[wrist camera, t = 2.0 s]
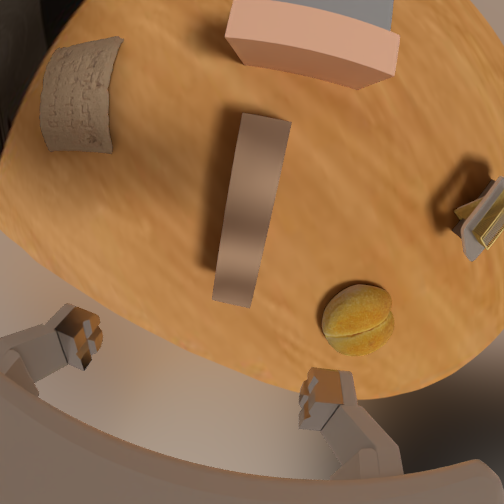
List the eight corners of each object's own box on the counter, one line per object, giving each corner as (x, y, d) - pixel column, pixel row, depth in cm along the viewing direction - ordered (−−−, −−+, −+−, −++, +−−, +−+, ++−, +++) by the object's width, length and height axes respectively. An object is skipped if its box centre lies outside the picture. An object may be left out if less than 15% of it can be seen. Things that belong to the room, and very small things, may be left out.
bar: (250, 114, 23) (242, 112, 19) (289, 122, 23) (291, 122, 19) (222, 272, 30) (211, 299, 26) (255, 279, 30) (250, 308, 26)
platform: (383, 223, 26) (407, 252, 20) (480, 102, 19) (519, 104, 13) (441, 286, 28) (466, 319, 22) (525, 181, 21) (560, 197, 15)
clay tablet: (60, 45, 20) (45, 43, 18) (131, 27, 20) (117, 21, 17) (53, 159, 27) (38, 164, 24) (119, 159, 26) (105, 163, 24)
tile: (250, 35, 20) (234, -4, 12) (362, 60, 19) (400, 35, 11) (244, 65, 21) (224, 37, 13) (357, 90, 21) (394, 76, 13)
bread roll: (384, 271, 28) (396, 291, 24) (392, 330, 31) (401, 353, 28) (311, 293, 30) (314, 317, 26) (329, 349, 33) (333, 373, 30)
